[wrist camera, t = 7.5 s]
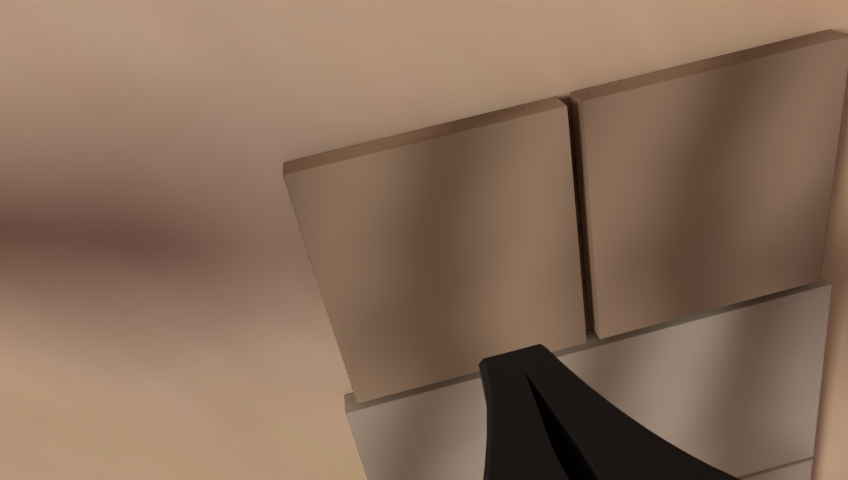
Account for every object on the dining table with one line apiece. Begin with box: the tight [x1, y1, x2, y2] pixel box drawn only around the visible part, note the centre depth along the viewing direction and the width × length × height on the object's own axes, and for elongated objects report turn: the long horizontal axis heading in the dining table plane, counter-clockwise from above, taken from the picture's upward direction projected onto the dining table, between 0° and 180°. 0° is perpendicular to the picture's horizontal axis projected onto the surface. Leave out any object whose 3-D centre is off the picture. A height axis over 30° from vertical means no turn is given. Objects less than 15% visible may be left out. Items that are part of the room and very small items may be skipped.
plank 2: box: [570, 30, 848, 339], centre depth 22 cm, size 8×9×1 cm
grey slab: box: [344, 277, 832, 480], centre depth 27 cm, size 18×13×1 cm
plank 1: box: [283, 96, 587, 404], centre depth 22 cm, size 8×9×1 cm
